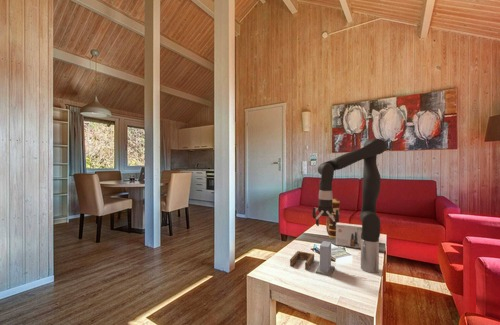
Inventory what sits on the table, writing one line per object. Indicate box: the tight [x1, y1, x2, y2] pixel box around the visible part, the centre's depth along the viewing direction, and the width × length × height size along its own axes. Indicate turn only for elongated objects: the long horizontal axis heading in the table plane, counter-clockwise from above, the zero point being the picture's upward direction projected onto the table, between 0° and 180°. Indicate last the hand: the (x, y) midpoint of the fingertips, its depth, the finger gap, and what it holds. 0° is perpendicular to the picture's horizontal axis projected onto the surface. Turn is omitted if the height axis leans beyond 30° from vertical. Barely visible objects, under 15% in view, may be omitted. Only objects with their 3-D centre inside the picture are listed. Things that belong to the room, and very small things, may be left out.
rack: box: [289, 250, 315, 271], centre depth 140 cm, size 10×16×4 cm
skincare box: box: [335, 222, 362, 249], centre depth 171 cm, size 21×6×16 cm, turn 68°
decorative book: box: [325, 197, 341, 239], centre depth 200 cm, size 22×8×30 cm, turn 168°
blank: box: [319, 240, 332, 273], centre depth 131 cm, size 4×9×14 cm, turn 151°
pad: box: [315, 264, 335, 277], centre depth 131 cm, size 8×12×1 cm, turn 151°
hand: (325, 226), depth 131 cm, fingers open, 8 cm apart
